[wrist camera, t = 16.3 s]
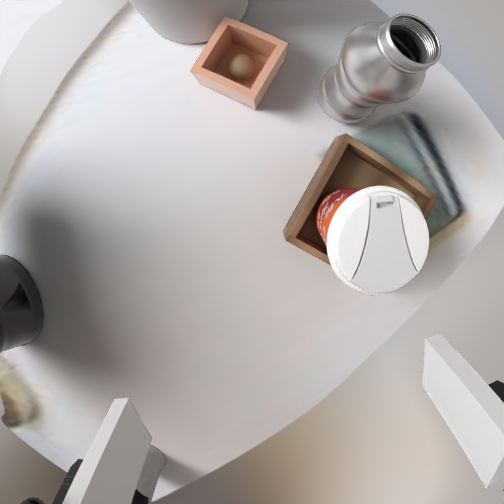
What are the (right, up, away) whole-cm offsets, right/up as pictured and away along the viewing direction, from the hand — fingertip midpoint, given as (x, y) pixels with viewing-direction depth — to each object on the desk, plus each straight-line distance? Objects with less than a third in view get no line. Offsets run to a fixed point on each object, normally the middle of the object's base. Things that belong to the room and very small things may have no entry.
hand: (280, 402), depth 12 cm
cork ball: (-2, +26, +20) cm, 33 cm away
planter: (-2, +27, +20) cm, 34 cm away
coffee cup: (+9, +10, +24) cm, 27 cm away
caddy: (+11, +11, +24) cm, 29 cm away
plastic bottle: (+9, +24, +21) cm, 33 cm away
